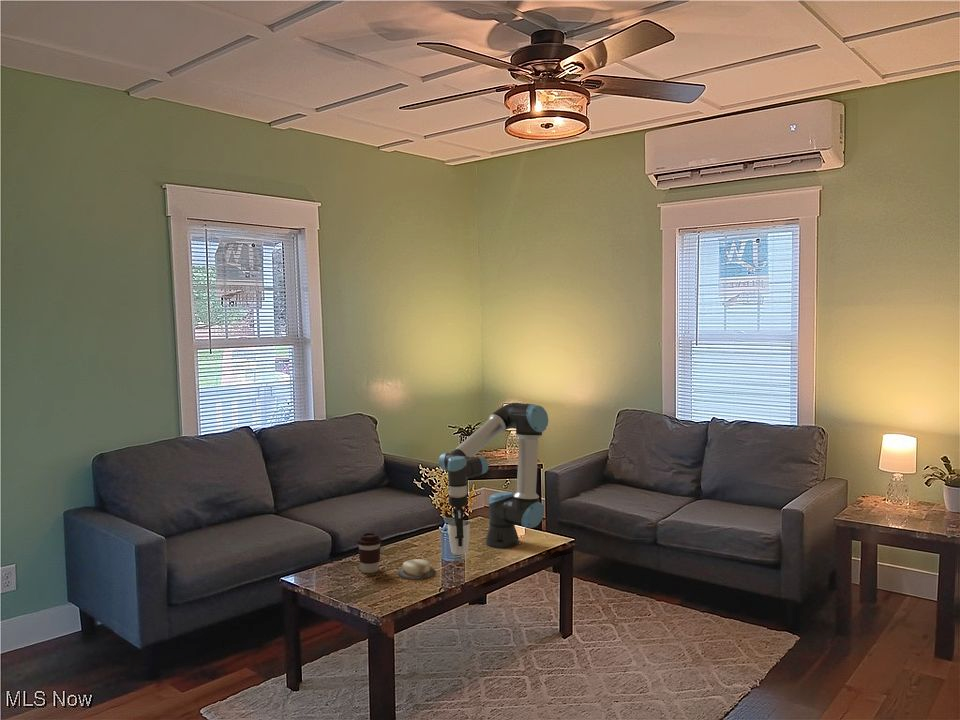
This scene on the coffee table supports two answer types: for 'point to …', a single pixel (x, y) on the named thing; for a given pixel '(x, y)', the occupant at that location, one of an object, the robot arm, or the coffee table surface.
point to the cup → (453, 533)
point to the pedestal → (416, 569)
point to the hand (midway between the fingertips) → (459, 549)
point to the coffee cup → (369, 552)
